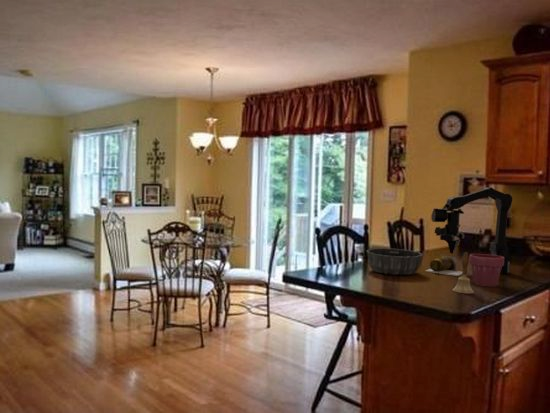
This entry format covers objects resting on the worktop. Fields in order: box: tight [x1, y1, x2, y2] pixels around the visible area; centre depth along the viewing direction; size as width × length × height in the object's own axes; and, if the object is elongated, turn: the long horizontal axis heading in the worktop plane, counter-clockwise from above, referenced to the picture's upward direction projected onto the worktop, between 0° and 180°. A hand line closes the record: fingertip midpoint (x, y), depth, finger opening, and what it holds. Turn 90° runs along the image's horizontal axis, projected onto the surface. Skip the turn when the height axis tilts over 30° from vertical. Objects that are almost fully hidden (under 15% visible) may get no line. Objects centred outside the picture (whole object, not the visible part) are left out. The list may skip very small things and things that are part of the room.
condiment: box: [429, 254, 457, 271], centre depth 260 cm, size 7×8×12 cm
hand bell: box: [452, 251, 475, 295], centre depth 213 cm, size 8×8×16 cm
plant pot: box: [468, 253, 504, 287], centre depth 230 cm, size 14×14×13 cm
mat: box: [424, 268, 463, 277], centre depth 258 cm, size 16×11×1 cm
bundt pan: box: [366, 247, 423, 276], centre depth 253 cm, size 26×26×10 cm
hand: (451, 253), depth 263 cm, fingers closed
